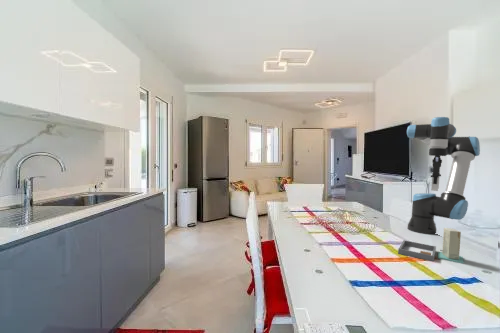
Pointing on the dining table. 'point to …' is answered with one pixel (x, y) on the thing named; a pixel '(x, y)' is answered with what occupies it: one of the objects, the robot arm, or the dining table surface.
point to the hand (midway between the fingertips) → (435, 189)
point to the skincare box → (451, 243)
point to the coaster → (450, 258)
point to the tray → (416, 254)
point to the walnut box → (425, 252)
